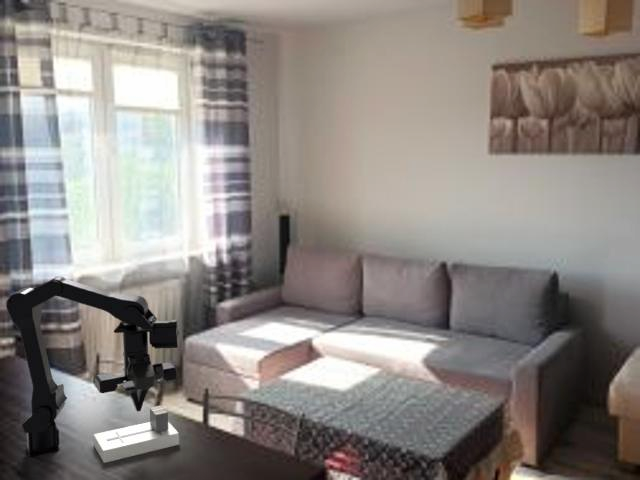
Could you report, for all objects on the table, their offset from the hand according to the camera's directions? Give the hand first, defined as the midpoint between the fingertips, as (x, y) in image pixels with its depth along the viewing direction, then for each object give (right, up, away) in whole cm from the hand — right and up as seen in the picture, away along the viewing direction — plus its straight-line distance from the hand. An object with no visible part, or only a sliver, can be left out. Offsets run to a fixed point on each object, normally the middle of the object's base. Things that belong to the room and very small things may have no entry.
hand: (138, 410), depth 156 cm
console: (-1, -9, +1) cm, 9 cm away
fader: (+4, -5, +4) cm, 7 cm away
